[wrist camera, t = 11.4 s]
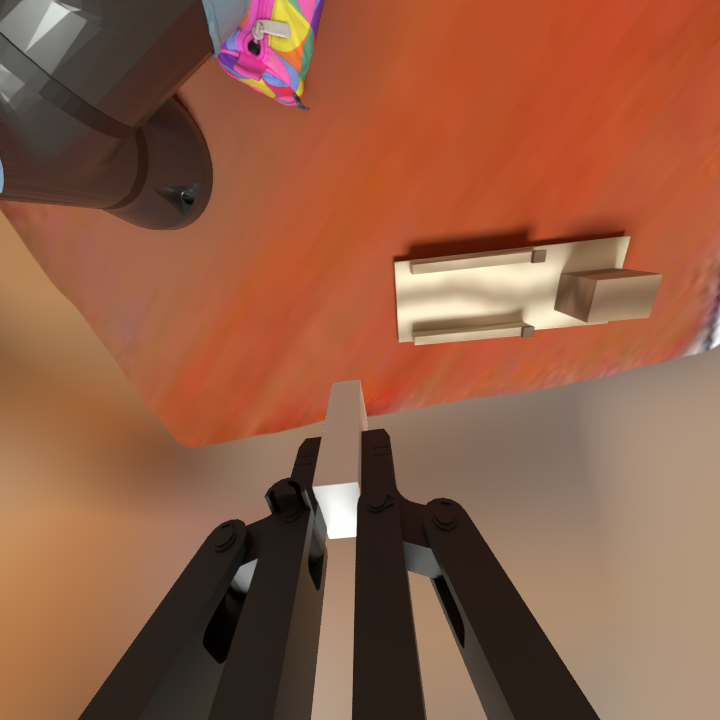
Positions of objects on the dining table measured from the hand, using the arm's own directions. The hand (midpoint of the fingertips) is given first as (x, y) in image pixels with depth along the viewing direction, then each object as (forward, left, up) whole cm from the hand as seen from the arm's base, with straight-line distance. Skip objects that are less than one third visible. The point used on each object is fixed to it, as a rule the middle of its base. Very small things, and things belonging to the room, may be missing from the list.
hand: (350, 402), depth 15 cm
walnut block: (+2, +31, -26) cm, 41 cm away
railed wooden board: (+1, +20, -27) cm, 34 cm away
